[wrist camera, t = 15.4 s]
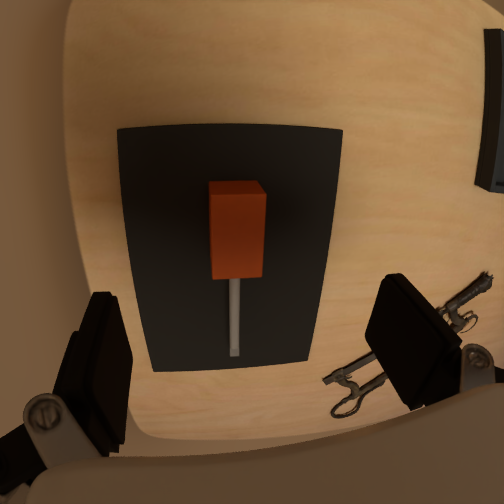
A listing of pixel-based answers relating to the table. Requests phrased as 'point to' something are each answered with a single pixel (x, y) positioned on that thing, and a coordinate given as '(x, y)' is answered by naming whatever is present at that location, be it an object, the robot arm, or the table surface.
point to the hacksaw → (339, 375)
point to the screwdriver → (236, 240)
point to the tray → (493, 116)
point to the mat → (198, 239)
